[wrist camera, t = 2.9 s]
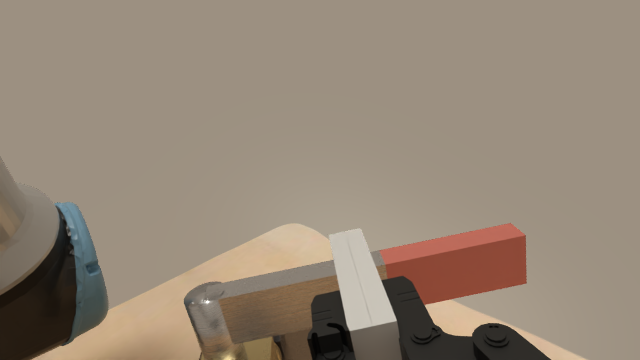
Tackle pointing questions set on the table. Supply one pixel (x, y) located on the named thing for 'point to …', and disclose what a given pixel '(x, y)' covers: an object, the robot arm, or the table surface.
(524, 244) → the lever
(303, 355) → the valve stand
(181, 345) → the table surface
